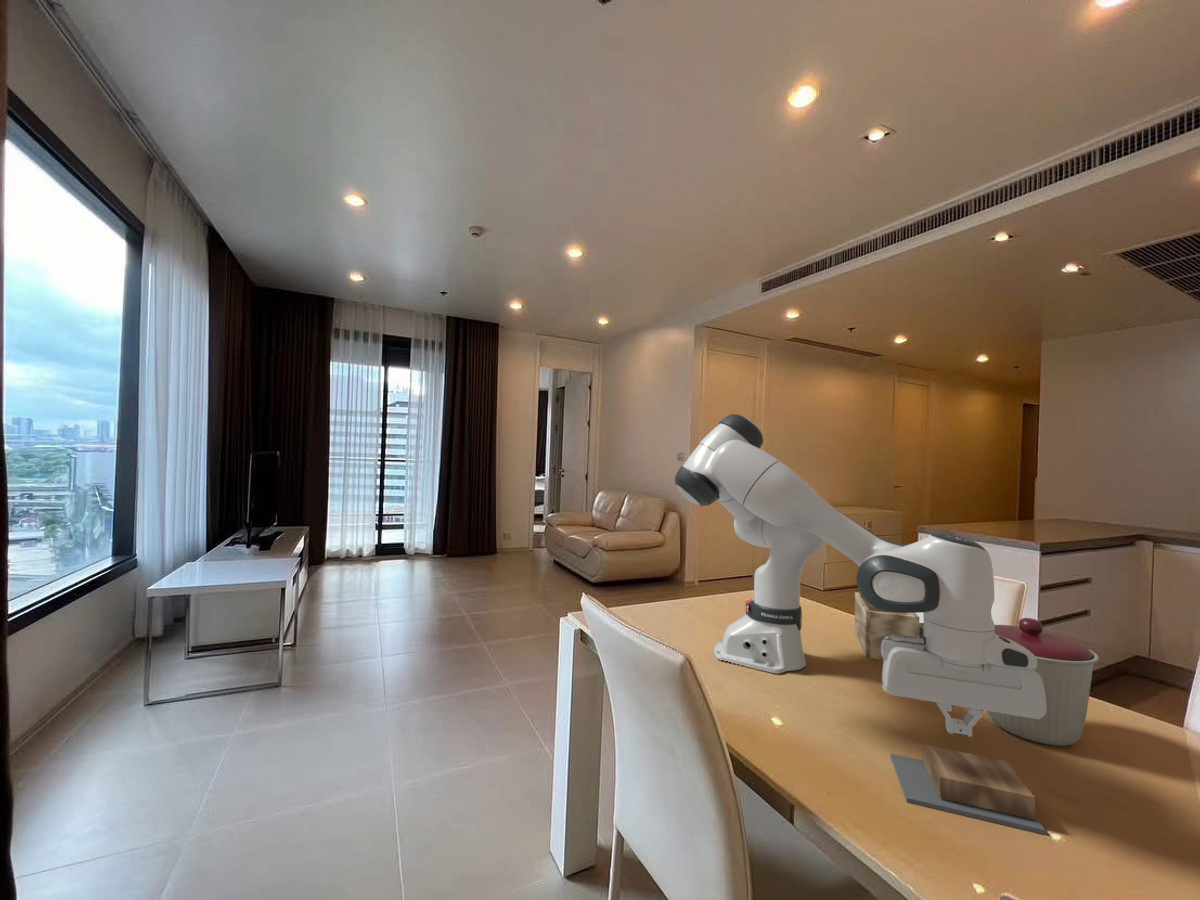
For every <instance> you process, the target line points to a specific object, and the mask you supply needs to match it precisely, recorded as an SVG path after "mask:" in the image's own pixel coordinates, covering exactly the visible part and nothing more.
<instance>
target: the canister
mask: <svg viewBox="0 0 1200 900" xmlns="http://www.w3.org/2000/svg"><path fill="white" fill-rule="evenodd" d="M1017 624H1018V626H1017V625H1009V624H994V626H995V634H996V635H999V636H1002V637H1004V638H1007V639H1010V640H1012V641H1015V642H1016V643H1018V644H1020V645H1022V646H1023V647H1025V648H1026V649H1028V650H1029V651H1030V652H1031V653H1032V654H1034V655H1035V657H1036V658H1037V667H1036V668H1035V669H1033V670H1034V671H1036V672H1037V673H1038V674H1039V675H1040V677H1041V679H1042V681H1043V685H1044V690H1045V696H1046V707H1047V710H1046V714H1045V715H1044V716H1043V717H1042V718H1041V719H1032V718H1026V717H1020V716H1015V715H1009V714H1003V713H997V712H991V711H986V712H987V715H988V716H989V718H990V719H991V720H992V721H993V722H994V723H995V724H996V725H997V726H998V727H1000V728H1001V729H1003V730H1004V731H1007V732H1008V733H1009V734H1013V735H1015V736H1017V737H1019V738H1023V739H1025V740H1027V741H1032V742H1036V743H1039V744H1044V745H1049V746H1057V747H1059V746H1061V747H1064V746H1070V745H1074V744H1075V743H1078V741H1079V740H1080V738H1081V737H1082V735H1083V733H1084V729H1085V724H1086V718H1087V712H1088V707H1089V700H1090V693H1091V686H1092V684H1091V683H1092V679H1093V668H1094V664H1096V663H1097V662H1098V661H1099V659H1100V658H1099V655H1098V654H1097V652H1095V651H1093V650H1091V649H1089V648H1088V647H1086V646H1085V645H1084V644H1082V643H1081V642H1078V641H1077V640H1074V639H1072V638H1069V637H1067V636H1063V635H1060V634H1057V633H1053V632H1049V631H1044V626H1043V624H1042V623H1041V621H1039V620H1037V619H1035V618H1031V617H1023V618H1022V617H1021V619H1019V620H1018V623H1017Z"/></svg>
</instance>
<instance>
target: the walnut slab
mask: <svg viewBox="0 0 1200 900" xmlns="http://www.w3.org/2000/svg"><path fill="white" fill-rule="evenodd" d="M923 760H924V765H925V767H926V769H927V771H928V773H929V775H930V777H931V780H932V782H933V784H934V786H935V788H936V790H937V792H938V794H939V796H940V798H942V799H944V800H949V801H953V802H957V803H962V804H966V805H970V806H975V807H979V808H984V809H988V810H992V811H997V812H1001V813H1005V814H1010V815H1014V816H1019V817H1023V818H1027V819H1034V820H1035V817H1036V797H1035V795H1034V794H1033V793H1032V792H1031V790H1030V789H1029V788H1028V786H1027V785H1026V783H1024V781H1023V779H1021V777H1020V776H1019V775H1018V773H1017V772H1016V771H1015V769H1014V768H1013V767H1012V766H1011V765H1010V763H1009V762H1008V760H1004V759H997V758H994V757H993V758H992V757H989V756H988V757H987V756H983V755H978V754H973V753H969V752H963V751H958V750H952V749H947V748H943V747H938V746H937V747H936V746H934V745H933V746H932V745H928V744H923Z"/></svg>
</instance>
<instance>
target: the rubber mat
mask: <svg viewBox="0 0 1200 900" xmlns="http://www.w3.org/2000/svg"><path fill="white" fill-rule="evenodd" d="M889 754H890V759H891V762H892V765H893V768H894V771H895V774H896V776H897V779H898V780H899V784H900V786H901V790H902V792H903V795H904V798H905V801H906V803H908V804H909V803H910V804H914V805H918V806H922V807H927V808H931V809H935V810H938V811H943V812H948V813H953V814H956V815H960V816H964V817H969V818H974V819H977V820H981V821H986V822H990V823H992V824H993V823H994V824H998V825H1003V826H1007V827H1011V828H1015V829H1020V830H1024V831H1028V832H1033V833H1037V834H1041V835H1046V829H1045V827H1043V825H1042V823H1041V822H1040V821H1039V820H1038V818H1037V817H1036V816H1035V820H1034V819H1027V818H1023V817H1019V816H1014V815H1010V814H1005V813H1001V812H997V811H992V810H988V809H984V808H979V807H975V806H970V805H966V804H962V803H957V802H953V801H949V800H944V799H942V798H940V796H939V794H938V792H937V790H936V788H935V786H934V784H933V782H932V780H931V777H930V775H929V773H928V771H927V769H926V767H925V765H924V759H919V758H915V757H910V756H909V757H908V756H906V755H905V756H904V755H899V754H896V753H889Z"/></svg>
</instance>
